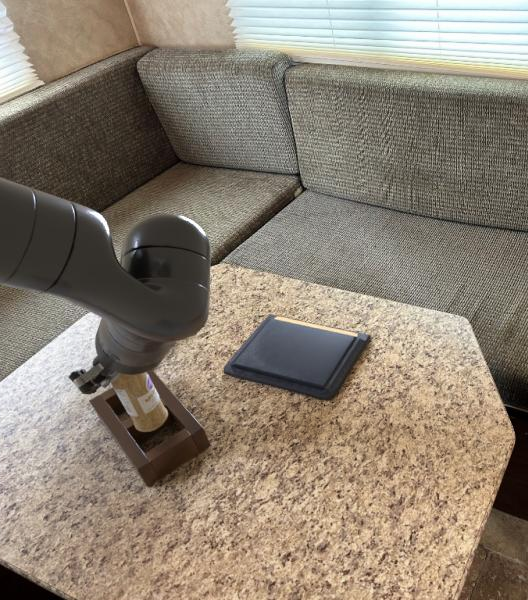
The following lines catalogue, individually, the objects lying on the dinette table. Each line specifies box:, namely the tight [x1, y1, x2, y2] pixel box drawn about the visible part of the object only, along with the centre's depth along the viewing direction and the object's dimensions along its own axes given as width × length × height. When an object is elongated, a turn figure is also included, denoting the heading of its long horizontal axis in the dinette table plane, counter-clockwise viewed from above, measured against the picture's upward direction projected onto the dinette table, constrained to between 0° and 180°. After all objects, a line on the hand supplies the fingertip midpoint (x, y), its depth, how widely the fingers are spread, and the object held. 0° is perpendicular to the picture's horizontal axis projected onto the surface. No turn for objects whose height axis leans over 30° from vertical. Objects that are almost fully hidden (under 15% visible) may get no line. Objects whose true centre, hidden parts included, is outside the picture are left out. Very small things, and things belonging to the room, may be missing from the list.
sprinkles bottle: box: [95, 352, 168, 432], centre depth 79 cm, size 5×5×14 cm
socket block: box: [88, 369, 212, 488], centre depth 88 cm, size 10×17×4 cm, turn 42°
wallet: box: [222, 313, 372, 402], centre depth 98 cm, size 20×2×15 cm
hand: (118, 367), depth 78 cm, fingers closed on sprinkles bottle, 4 cm apart
